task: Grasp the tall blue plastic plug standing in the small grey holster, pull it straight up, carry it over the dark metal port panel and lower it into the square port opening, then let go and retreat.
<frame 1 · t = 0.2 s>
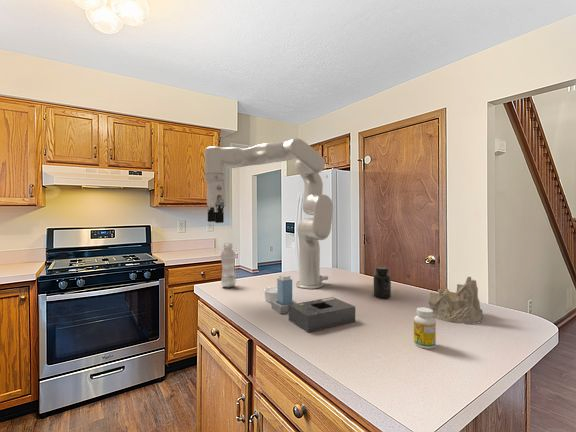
hand: (215, 222, 125), 31 cm above the counter, tool pointing down, fingers open, 9 cm apart
holster: (284, 309, 114), on the counter
supplement bottle 2: (424, 345, 85), on the counter
plug: (284, 292, 114), in the holster
plastic bottle: (228, 287, 145), on the counter
supplement bottle: (382, 297, 129), on the counter
ramekin: (275, 300, 126), on the counter
port panel: (321, 320, 103), on the counter
ceramic cottage: (455, 316, 108), on the counter
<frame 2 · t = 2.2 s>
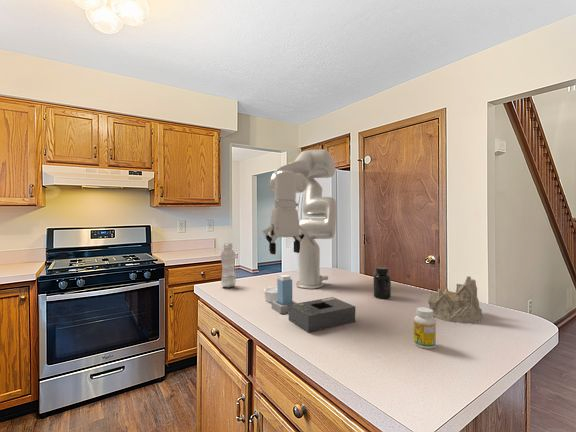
hand: (284, 253, 113), 20 cm above the counter, tool pointing down, fingers open, 9 cm apart
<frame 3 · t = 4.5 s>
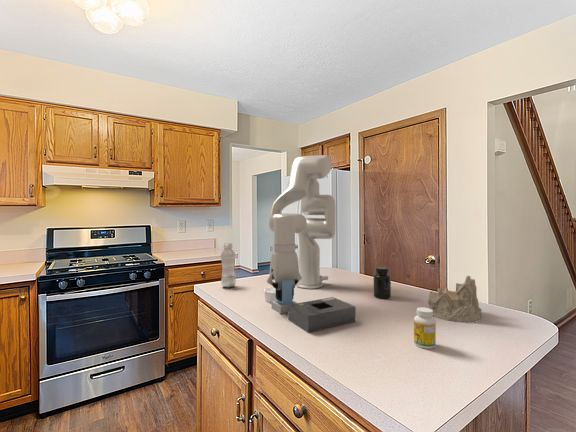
hand: (284, 298, 114), 4 cm above the counter, tool pointing down, fingers closed on plug, 4 cm apart
plug: (284, 292, 114), in the holster, touching gripper
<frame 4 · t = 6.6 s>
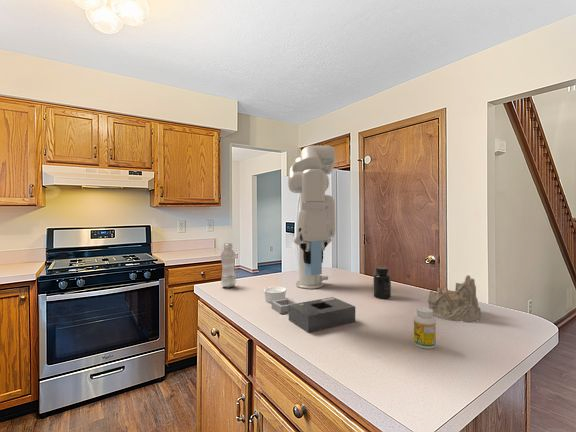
hand: (313, 262, 104), 19 cm above the counter, tool pointing down, fingers closed on plug, 4 cm apart
plug: (313, 255, 104), point 21 cm above the counter, touching gripper
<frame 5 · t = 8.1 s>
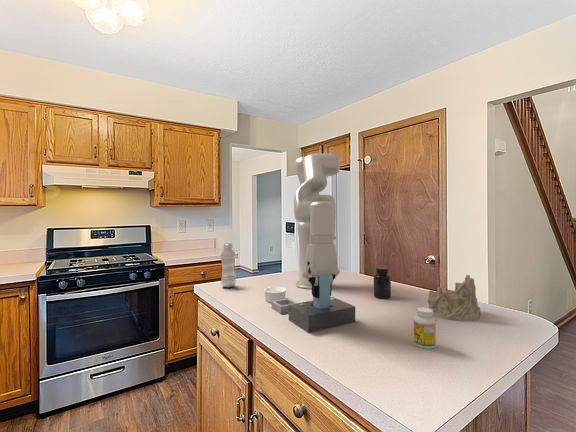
hand: (321, 295, 102), 8 cm above the counter, tool pointing down, fingers closed on plug, 4 cm apart
plug: (321, 288, 102), point 11 cm above the counter, touching gripper
when the fingers open (5 cm above the counter, at t = 9.0 s): plug drops 2 cm, resting in port panel.
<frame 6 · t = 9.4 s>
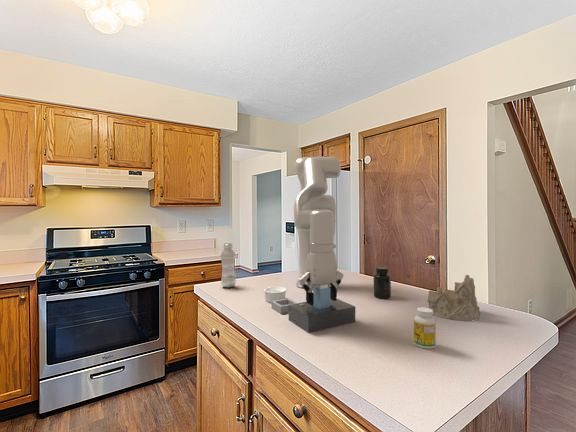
hand: (321, 301, 102), 6 cm above the counter, tool pointing down, fingers open, 8 cm apart
plug: (321, 302, 102), in the port panel
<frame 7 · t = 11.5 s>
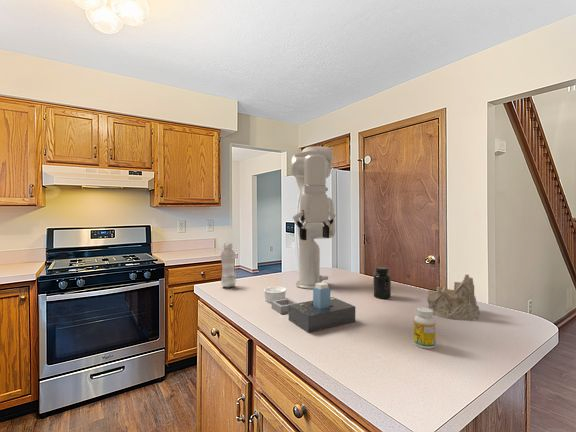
hand: (314, 238, 113), 26 cm above the counter, tool pointing down, fingers open, 9 cm apart
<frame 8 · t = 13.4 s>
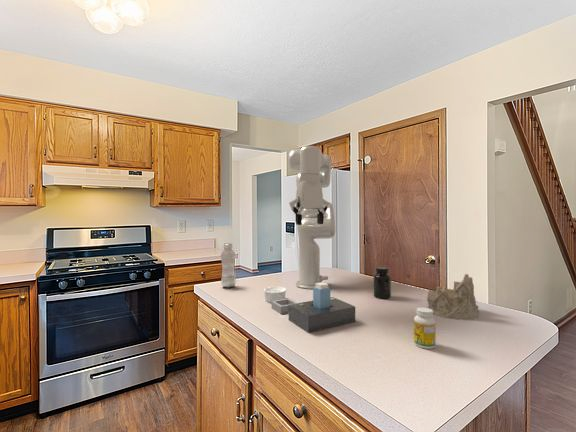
hand: (309, 224, 121), 30 cm above the counter, tool pointing down, fingers open, 9 cm apart
at the end: plug 0.0 cm off-centre on the port panel, point 6.1 cm above the port panel's base; plug tilted 0°; the gripper is holding nothing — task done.
